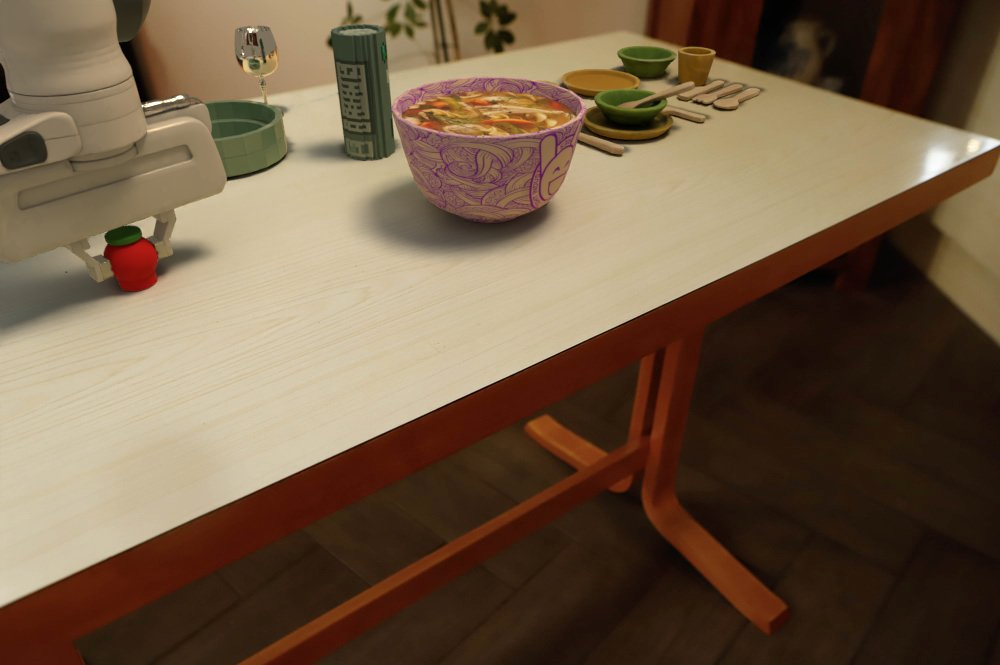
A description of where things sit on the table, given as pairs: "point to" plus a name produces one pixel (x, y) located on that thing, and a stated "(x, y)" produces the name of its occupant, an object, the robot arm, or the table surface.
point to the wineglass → (256, 53)
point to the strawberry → (131, 258)
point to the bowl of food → (489, 143)
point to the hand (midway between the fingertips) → (133, 266)
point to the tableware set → (646, 94)
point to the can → (364, 90)
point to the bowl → (247, 134)
